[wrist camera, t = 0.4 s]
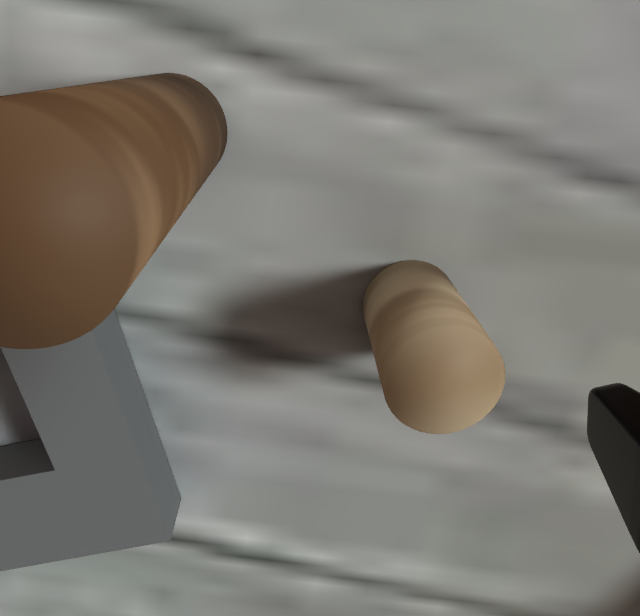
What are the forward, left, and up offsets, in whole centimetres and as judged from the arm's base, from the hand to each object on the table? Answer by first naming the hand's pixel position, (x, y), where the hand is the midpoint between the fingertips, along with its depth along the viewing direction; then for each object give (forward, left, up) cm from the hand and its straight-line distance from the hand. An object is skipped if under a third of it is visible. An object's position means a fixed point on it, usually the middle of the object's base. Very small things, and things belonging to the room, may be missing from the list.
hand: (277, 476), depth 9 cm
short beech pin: (-4, -4, -14) cm, 16 cm away
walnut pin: (+4, +3, -14) cm, 15 cm away
